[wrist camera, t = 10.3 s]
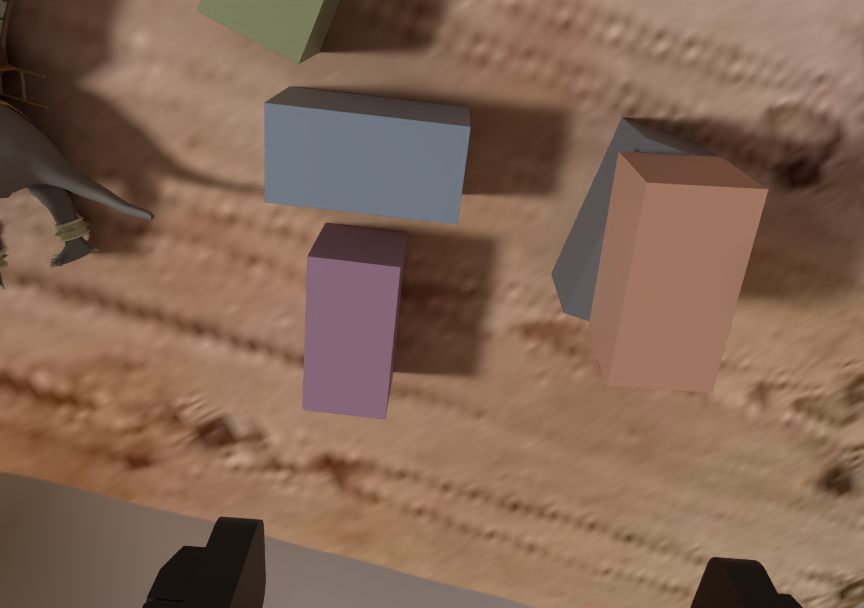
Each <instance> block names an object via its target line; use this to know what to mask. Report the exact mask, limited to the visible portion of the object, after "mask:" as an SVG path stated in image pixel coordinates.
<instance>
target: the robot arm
mask: <svg viewBox="0 0 864 608" xmlns="http://www.w3.org/2000/svg"><path fill="white" fill-rule="evenodd" d="M265 572H266V571H265V543H264V524H263V520H258V519H246V518H233V517H219V518H218V520H217V521H216V523H215V526H214V528H213V531H212V533H211V535H210V538H209V540H208V543H207V545H206V547H193V546H183V547H182V548H181V549H180V550H179V551H178V552H177V553H176V554H175V555H174V556H173V557H172V558H171V559H170V560H169V561H168V562H167V563H166V564H165V565H164V566H163V567H162V568H161V569H160V571H159V573H158V575H157V577H156V579H155V581H154V583H153V586H152V588H151V590H150V592H149V594H148V596H147V601H146V603H144V605H143V607H142V608H262V607H263V601H264V594H265V585H266V584H265V583H266V573H265ZM690 608H803V607H802V606H801V605H800V604H799V603H798V602H797V601H796V600H795V599H794V598H793V597H792V596H791V595H790V594H778V593H777V591H776V589H775V587H774V585H773V583H772V581H771V579H770V578H769V576H768V574H767V572H766V570H765V568H764V567H763V566H762V564H761V563H759V562H758V561H756V560H746V559H733V558H720V557H713V558H711V559H710V561H709V562H708V564H707V567H706V569H705V572H704V574H703V577H702V579H701V582H700V584H699V587H698V589H697V592H696V594H695V597H694V600H693V602H692V605H691V607H690Z"/></svg>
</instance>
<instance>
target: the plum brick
mask: <svg viewBox="0 0 864 608" xmlns="http://www.w3.org/2000/svg"><path fill="white" fill-rule="evenodd" d="M406 243H407V233H405V232H396V231H388V230H379V229H371V228H362V227H354V226H345V225H337V224H329V223H325V225H324V227H323V228H322V230H321V232H320V234H319V236H318V238H317V239H316V241H315V243H314V245H313V247H312V249H311V251H310V252H309V254H308V256H307V283H306V315H305V347H304V380H303V410H308V411H317V412H325V413H334V414H343V415H351V416H360V417H369V418H378V419H386V413H387V407H388V401H389V395H390V389H391V383H392V377H393V371H394V361H395V351H396V341H397V332H398V322H399V312H400V302H401V292H402V282H403V273H404V263H405V253H406Z"/></svg>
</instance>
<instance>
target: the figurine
mask: <svg viewBox="0 0 864 608" xmlns="http://www.w3.org/2000/svg"><path fill="white" fill-rule="evenodd" d="M13 2H14V0H0V96H3V97H7V98H10V99H13V100H17V101H20V102H24V103H27V104H30V105H34V106H37V107H41V108H44V109H48V108H49V107H48V106H44V105H41V104H37V103H34V102H31V101H27V97H26V87H25V77H24V73H27V74H31V75H34V76H38V77H41V78H46V76H45V75H42V74H38V73H35V72H31V71H28V70H24V69H21V68H17V67H14V66H12V65H10V64H9V63H8V59H7V53H6V38H7V32H8V25H9V19H10V14H11V10H12V6H13ZM8 70H17V71H20V80H21V89H22V98H23V99H20V98H17V97H14V96H10V95H7V94H3V85H2V77H1V74H3V73H4V72H5V71H8ZM24 188H29V190H30V192H31V193H32V194H33V195H34V196H35V197H36V198H38V199H39V200H40V201H41V203H42V204H44V205H45V206H46V207H47V208H48V209H49V210H50V212H51V214H52V215H53V217H54V219H55V221H56V223H57V224H56V225H54V228H57V230H56V232H55V235H56V236H60V237H61V239H60V241H61V242H65V247H64V249H63V250H62V251H61V253H60V254H58V255H55V256H54V257H53V259H52V260H51V261H50V263H52V264H51V267H55V266H62V265H63V264H66V263H69V262H72V261H74V260H77V259H79V258H82V257H84V256H86V255H88V254H89V253H90V252H98V251H99V250H98V249H97V248H96V247H91V245H90V243H89V242H87V241H86V240H85V239H84V238H83V237H82V236H84V235H86V234H88V233H89V232H90V230H88V229H87V227H88V226H89V225H90V223H88V222H84V220H83V217H81V216H79V217H77V214H76V211H75V208H74V206H73V203H72V201H71V199H70V197H69V195H68V193H67V192H66V190H68V191H71V192H73V193H75V194H78V195H80V196H83V197H85V198H88V199H90V200H93V201H96V202H98V203H101V204H103V205H106V206H108V207H110V208H112V209H115V210H117V211H119V212H121V213H123V214H126V215H130V216H134V217H138V218H143V219H148V220H151V219H153V218H154V215H153V214H152V213H151V212H149V211H147V210H144V209H142V208H139V207H136V206H134V205H131V204H129V203H127V202H125V201H124V200H122V199H121V198H119V197H118V196H116V195H115V194H113V193H112V192H111V191H109V190H108V189H106V188H105V187H103V186H101V185H100V184H98V183H96V182H95V181H93V180H91V179H90V178H88V177H87V176H85V175H84V174H82V173H81V172H79V171H78V170H77V169H76V168H74V167H73V166H72V165H71V164H70V163H69V162H68V161H67V160H66V158H65V157H64V156H63V155H62V153H61V152H60V151H59V150H58V149H57V148H56V146H55V145H54V144H53V143H52V142H51V141H50V140H49V139H48V138H47V137H46V136H45V135H44V134H43V133H42V132H40V131H39V130H38V129H37V128H36V127H35V126H33V125H32V123H31V121H30V119H29V118H27V117H26V116H25V115H24V114H23V113H21V112H20V111H19V110H17V109H16V108H14V107H13V106H11V105H10V104H8V103H7V102H5V101H3V100H0V198H6V197H9V196H10V195H11V194H12V193H13V192H16V191H18V190H21V189H24ZM65 189H66V190H65ZM5 252H6V250H5V249H4V248H3V247H2V240H1V238H0V270H3V269H5V268H6V267H7V266H8V263H7V262H6V261H4V260H3V259H4V258H5V257H6V256H8V255H6V254H4V253H5ZM0 289H5V287H4V285H3V283H2V277H1V273H0Z"/></svg>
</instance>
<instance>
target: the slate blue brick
mask: <svg viewBox="0 0 864 608" xmlns="http://www.w3.org/2000/svg"><path fill="white" fill-rule="evenodd" d="M264 110H265V202H266V203H275V204H284V205H293V206H301V207H310V208H319V209H328V210H336V211H345V212H354V213H363V214H371V215H380V216H389V217H398V218H406V219H415V220H424V221H433V222H441V223H450V224H458V219H459V212H460V204H461V197H462V189H463V181H464V174H465V166H466V158H467V151H468V143H469V136H470V128H471V125H470V112H469V107H461V106H452V105H444V104H435V103H427V102H418V101H410V100H401V99H393V98H384V97H375V96H367V95H358V94H350V93H341V92H333V91H324V90H316V89H307V88H298V87H290V86H289V87H288V88H286V89H285V90H283V91H282V92H280V93H279V94H277V95H276V96H274V97H273V98H271V99H270V100H268V101H267V102H265V103H264Z"/></svg>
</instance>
